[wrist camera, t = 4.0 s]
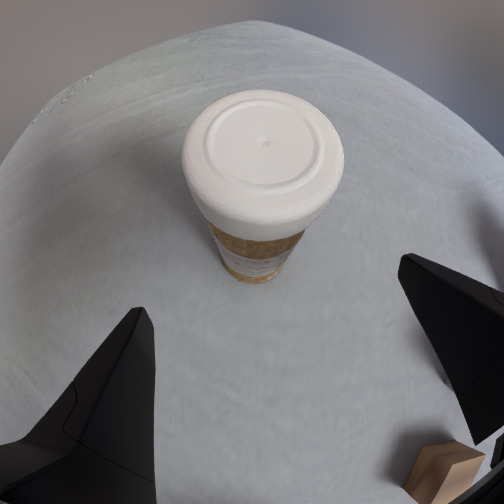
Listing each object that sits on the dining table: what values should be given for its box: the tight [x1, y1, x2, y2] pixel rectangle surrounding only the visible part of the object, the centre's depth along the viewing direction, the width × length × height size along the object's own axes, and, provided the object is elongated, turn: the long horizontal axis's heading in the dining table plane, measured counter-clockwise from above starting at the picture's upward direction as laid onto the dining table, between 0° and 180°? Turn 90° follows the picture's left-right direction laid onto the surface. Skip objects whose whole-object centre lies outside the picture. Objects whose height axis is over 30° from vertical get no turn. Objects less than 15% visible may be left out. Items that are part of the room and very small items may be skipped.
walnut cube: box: [403, 441, 486, 504], centre depth 13 cm, size 5×5×5 cm
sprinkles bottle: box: [181, 90, 344, 284], centre depth 13 cm, size 5×5×14 cm
